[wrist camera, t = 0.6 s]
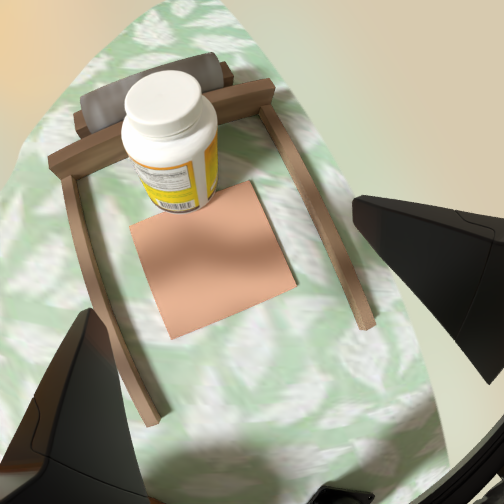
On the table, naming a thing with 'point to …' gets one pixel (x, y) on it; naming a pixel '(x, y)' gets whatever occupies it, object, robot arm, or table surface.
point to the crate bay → (196, 222)
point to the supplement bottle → (172, 140)
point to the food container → (154, 501)
